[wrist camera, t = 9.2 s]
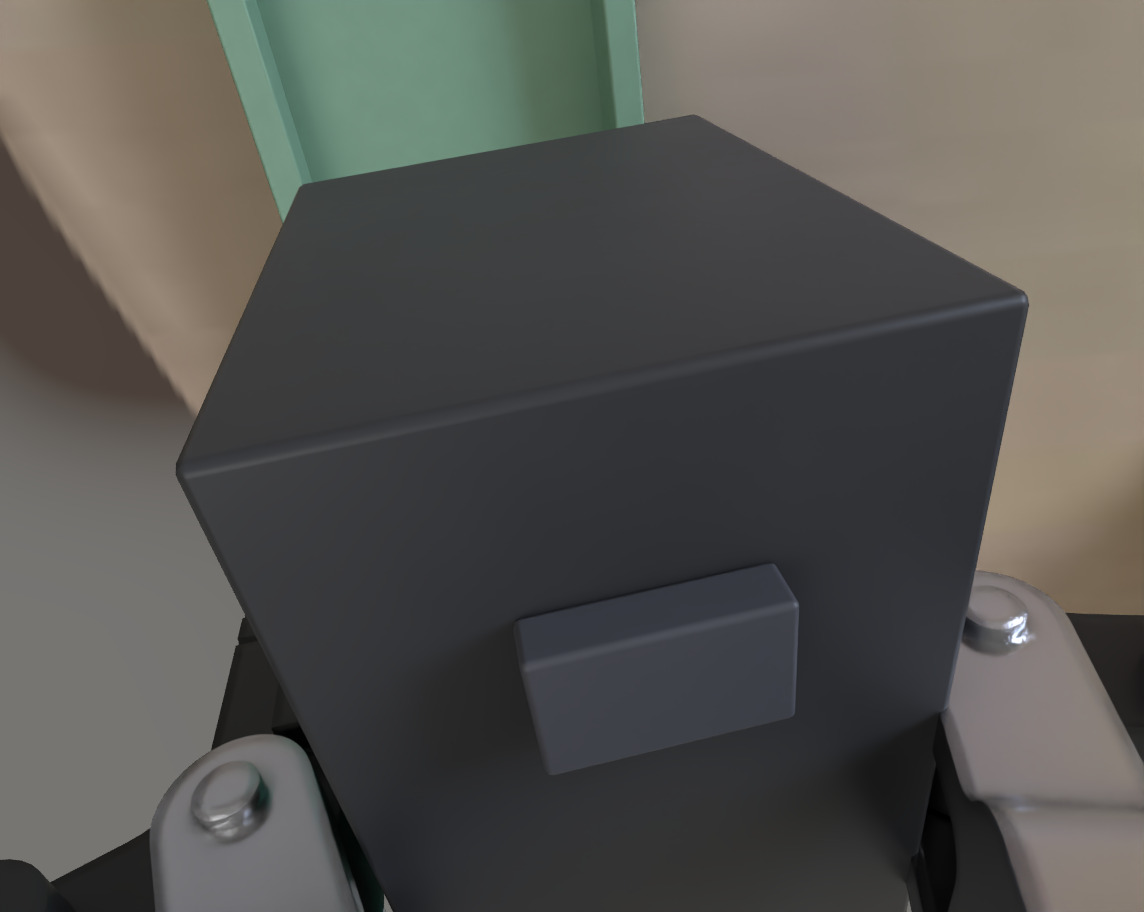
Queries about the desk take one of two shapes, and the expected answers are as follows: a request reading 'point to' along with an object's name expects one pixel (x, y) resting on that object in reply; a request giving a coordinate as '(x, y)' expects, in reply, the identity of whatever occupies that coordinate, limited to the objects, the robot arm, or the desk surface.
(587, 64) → the tray
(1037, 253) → the desk surface
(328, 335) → the grey tabbed box
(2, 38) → the desk surface
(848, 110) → the desk surface
